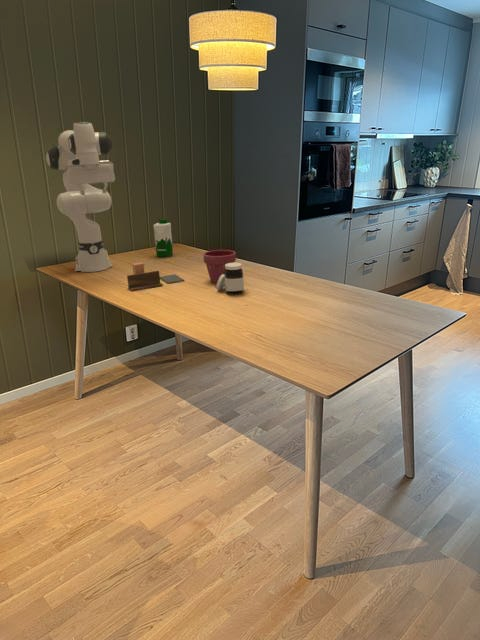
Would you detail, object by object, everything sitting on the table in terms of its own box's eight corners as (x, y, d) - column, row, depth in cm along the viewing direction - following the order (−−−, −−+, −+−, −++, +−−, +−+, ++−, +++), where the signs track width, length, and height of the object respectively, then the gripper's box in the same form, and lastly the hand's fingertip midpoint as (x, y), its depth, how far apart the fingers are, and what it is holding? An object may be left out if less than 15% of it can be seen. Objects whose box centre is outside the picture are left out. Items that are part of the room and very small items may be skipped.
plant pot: (226, 274, 221) (225, 247, 216) (242, 281, 210) (241, 252, 205) (199, 280, 214) (197, 252, 209) (215, 287, 202) (213, 257, 198)
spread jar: (244, 295, 190) (243, 267, 186) (216, 296, 190) (215, 268, 186) (242, 286, 202) (241, 260, 198) (216, 288, 201) (214, 261, 197)
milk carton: (174, 254, 267) (171, 218, 260) (169, 258, 258) (166, 221, 251) (159, 254, 268) (156, 218, 261) (154, 258, 260) (150, 221, 253)
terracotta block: (134, 282, 214) (132, 263, 211) (143, 281, 215) (140, 262, 212) (137, 284, 210) (134, 265, 207) (145, 283, 212) (143, 263, 209)
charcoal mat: (159, 278, 220) (158, 276, 220) (175, 275, 223) (175, 274, 223) (167, 284, 210) (167, 282, 210) (184, 281, 213) (184, 279, 213)
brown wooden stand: (128, 288, 205) (126, 275, 203) (159, 283, 211) (157, 270, 209) (131, 291, 201) (129, 277, 199) (162, 286, 207) (161, 272, 205)
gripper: (111, 160, 211) (115, 192, 215) (63, 163, 203) (69, 196, 206) (114, 159, 206) (118, 192, 209) (65, 161, 197) (71, 195, 201)
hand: (93, 194), depth 208 cm, fingers open, 8 cm apart
